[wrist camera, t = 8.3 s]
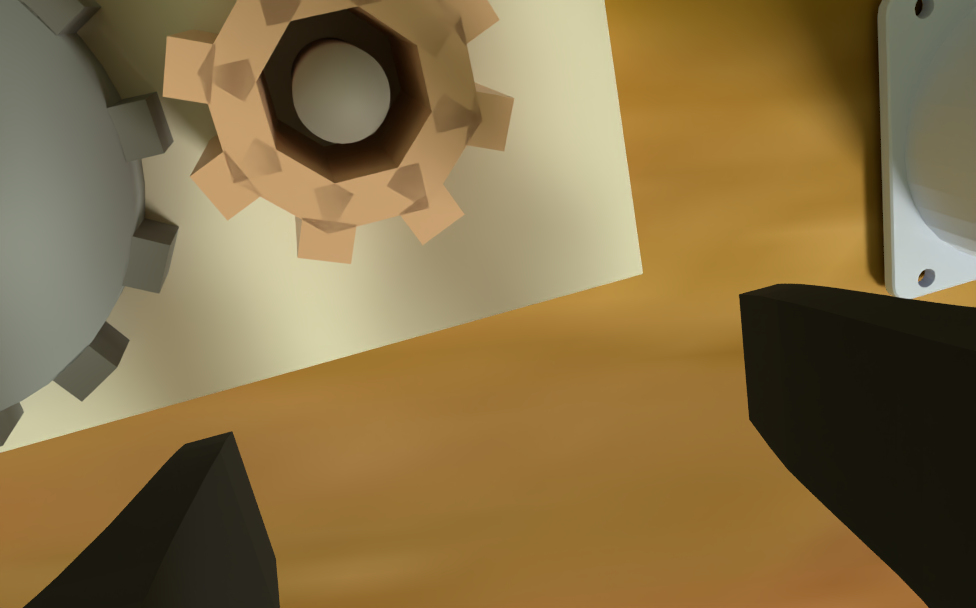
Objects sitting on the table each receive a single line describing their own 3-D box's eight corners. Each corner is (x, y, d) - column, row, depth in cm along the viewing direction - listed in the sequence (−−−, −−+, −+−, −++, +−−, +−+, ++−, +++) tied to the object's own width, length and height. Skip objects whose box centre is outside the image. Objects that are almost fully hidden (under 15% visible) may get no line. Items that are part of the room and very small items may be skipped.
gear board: (544, -299, 17) (629, -398, 13) (627, 262, 21) (710, 323, 17) (-597, -100, 14) (-963, -144, 10) (-229, 498, 18) (-377, 640, 14)
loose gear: (431, -93, 17) (473, -121, 13) (486, 174, 19) (536, 215, 15) (152, -35, 16) (113, -47, 12) (240, 236, 18) (230, 296, 14)
